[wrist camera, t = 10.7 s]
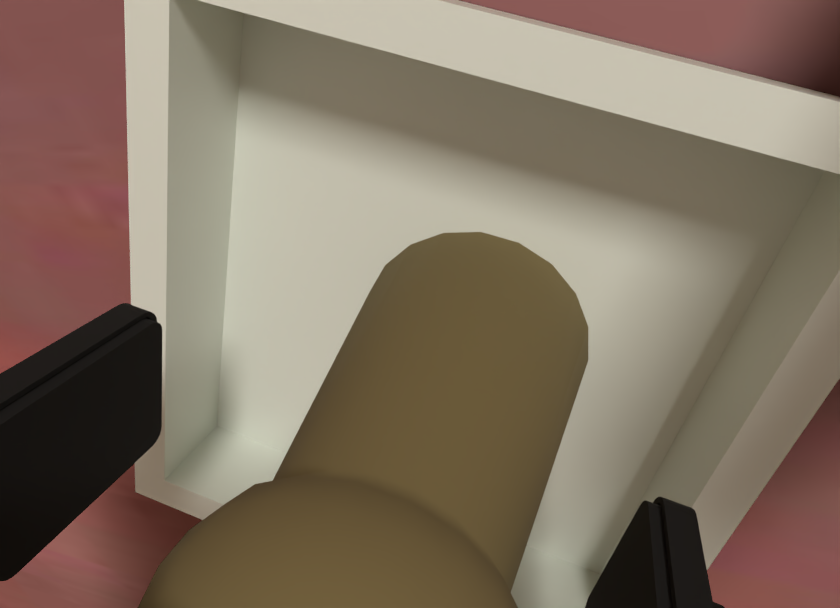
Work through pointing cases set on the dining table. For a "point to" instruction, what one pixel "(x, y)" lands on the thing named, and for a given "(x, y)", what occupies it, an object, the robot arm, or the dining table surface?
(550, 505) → the tray
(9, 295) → the dining table surface
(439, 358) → the cork
